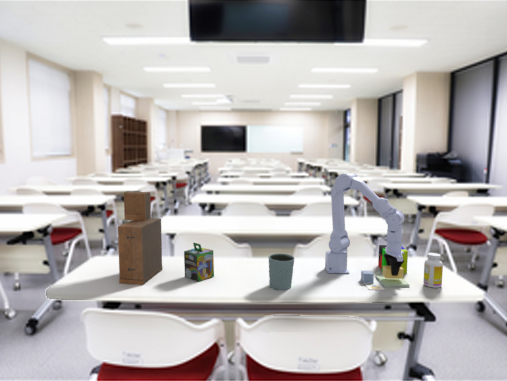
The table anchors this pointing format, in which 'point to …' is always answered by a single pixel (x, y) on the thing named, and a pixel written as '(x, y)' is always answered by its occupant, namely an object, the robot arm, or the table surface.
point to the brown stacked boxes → (139, 241)
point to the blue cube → (367, 276)
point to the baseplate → (392, 282)
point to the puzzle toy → (383, 262)
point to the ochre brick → (388, 273)
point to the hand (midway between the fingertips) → (392, 273)
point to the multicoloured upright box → (198, 263)
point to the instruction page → (375, 287)
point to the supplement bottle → (433, 271)
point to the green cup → (280, 271)
